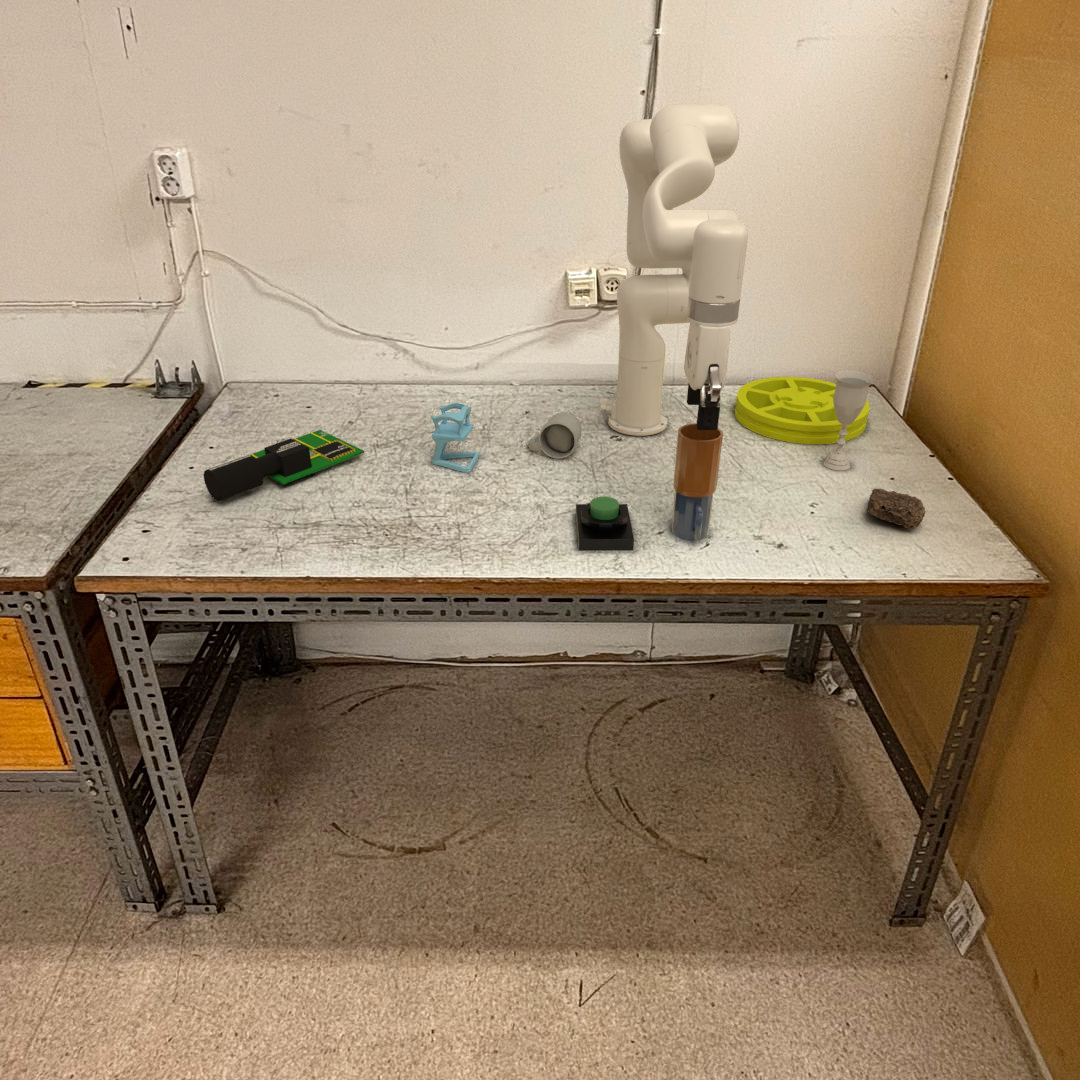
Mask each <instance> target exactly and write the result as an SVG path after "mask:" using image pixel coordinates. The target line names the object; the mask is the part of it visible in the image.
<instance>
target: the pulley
mask: <svg viewBox="0 0 1080 1080" xmlns="http://www.w3.org/2000/svg"><path fill="white" fill-rule="evenodd" d="M836 383H837V382H832V381H827V380H823V379H818V378H812V377H804V376H773V377H765V378H759V379H755V380H752V381H749V382H747V383H745V384H744V385H742V386H741V387H739V389H738V390H737V392H736V399H735V408H734V416H735V418H736V420H737V421H738V423H739V424H740V425H742V426H743V427H744V428H746V429H748V430H749V431H751V432H753V433H755V434H758V435H760V436H763V437H765V438H768V439H769V438H770V439H773V440H777V441H781V442H785V443H792V444H793V443H794V444H802V445H831V444H832V445H833V444H838V443H837V440H839V438H840V434H839V432H840V430H841V428H842V424H841V423H839V422H838V420H837V416H836V413H835V409H834V403H833V399H834V393H835V388H836ZM869 414H870V403H869V401H868V399H866V403H865V406H864V408H863V409H862V411H861V413H860V414H859V415H858V417H857V418H856V419H855V420H854V422H853V423H852V424H849V425H847V427H846V432H847V435H846V436H845V438H844V440H845V442H847V441H851V440H853V439H856V438H857V437H859V436H861V435H862V434H863V433H864V432H865V430H866V427H867V422H868V417H869Z"/></svg>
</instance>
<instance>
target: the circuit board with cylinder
mask: <svg viewBox="0 0 1080 1080" xmlns="http://www.w3.org/2000/svg"><path fill="white" fill-rule="evenodd" d="M363 454H365V450H364V449H361V448H360V447H358V446H355V445H353V444H351V443H350V442H347V441H345V440H343V439H340V438H339V437H337V436H335V435H332V434H330V433H328V432H326V431H324V430H321V429H318V430H316V431H315V430H314V431H313V432H309V433H307V434H304V435H301V436H297V437H296V438H289V439H288V438H287V439H285V440H282V441H279V442H277V443H274V444H271V445H268V446H265V447H264V448H263V449H262V450H259V451H256V452H253V453H249V454H247V455H245V456H241V457H238V458H235V459H233V460H230V461H227V462H225V463H222V464H219V465H216V466H213V467H211V468H207V469H205V470H204V471H203V482H204V484H205V487H206V489H207V491H208V493H209V495H210V496H211V498H212V499H213V500H214V501H216V502H218V503H219V502H223V501H226V500H228V499H230V498H233V497H236V496H238V495H241V494H243V493H246V492H249V491H252V490H254V489H256V488H257V489H258V488H259V487H262V486H264V483H265V478H267V477H268V478H269V479H272V480H273V481H275V482H277V483H278V484H281V485H282V486H290V485H292V484H295V483H297V482H299V481H302V480H305V479H308V478H310V477H313V476H314V474H315V473H317V472H319V471H322V470H325V469H327V468H330V467H332V466H335V465H337V464H339V463H342V462H345V461H348V460H350V459H353V458H356V457H357V456H360V455H363Z"/></svg>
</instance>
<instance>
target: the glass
mask: <svg viewBox="0 0 1080 1080" xmlns="http://www.w3.org/2000/svg"><path fill="white" fill-rule="evenodd" d="M696 425H697V422H696V423H695V422H693V423H687V424H684V425H681V426H680V427H679V428H678V429H677V437H676V446H675V447H676V449H675V460H674V470H673V489H674V492H675V491H677V492H678V493H680V494H682V495H684V496H688V497H695V498H700V497H707V496H710V495H712V494H713V495H714V494H715V493H716V491H717V487H718V480H719V472H720V462H721V454H722V446H723V438H724V433H723V431H722V429H720V428H719V427H718V429H717V430H697V428H696Z"/></svg>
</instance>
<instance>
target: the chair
mask: <svg viewBox="0 0 1080 1080" xmlns="http://www.w3.org/2000/svg"><path fill="white" fill-rule="evenodd" d="M453 409H456V410H459V411H458V412H454V411H450V410H453ZM439 410H440V411H441V414H439V415H436V416H431V420H432V422H433V424H434V431H433V432H432V433H431V439H432V440H434V442H435V446H434V452H433V456H432V460H431V464H432V465H434V466H435V465H436V466H440V467H444V468H448V469H450V470H453V471H454V470H455V471H458V472H461V473H466V474H469V473H471V471H472V469H473V468H474V466H475V464H476V463H477V462H478V459H479V458H480V452H479V451H461V452H458V451H457V452H445V450H446V449H447V445H448V444H449V443H451V442H463V443H465V441H466V440H467V438H468V436H469V435H470V434H471V432H473V430H474V424H473V423H471V422H470V416H471V412H472V407H470V406H468V405H466V404H464V403H460V402H453V403H450V404H446V405H444V406H439ZM449 421H451V422H449ZM438 422H440V423H438ZM464 458H472V459H471V460H470V461H469V463H468V464H467V465H466V466H465V465H461V464H458V463H455V462H452V461H447V460H449V459H450V460H452V459H464Z"/></svg>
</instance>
